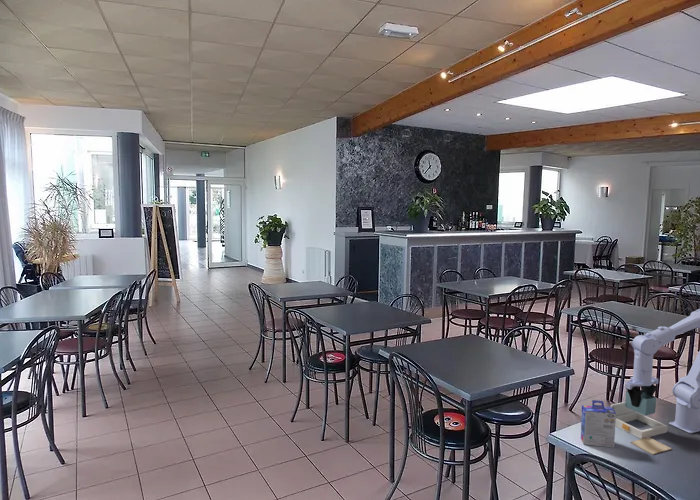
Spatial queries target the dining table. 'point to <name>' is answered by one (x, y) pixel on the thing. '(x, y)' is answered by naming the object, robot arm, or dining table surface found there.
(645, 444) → the oak pad
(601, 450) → the dining table surface
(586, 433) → the ink cartridge box
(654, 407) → the block
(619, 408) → the case lid
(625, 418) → the case
